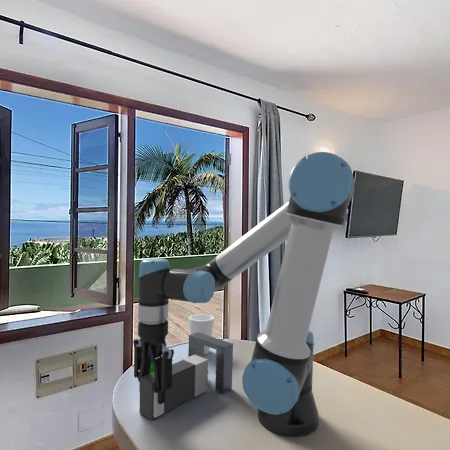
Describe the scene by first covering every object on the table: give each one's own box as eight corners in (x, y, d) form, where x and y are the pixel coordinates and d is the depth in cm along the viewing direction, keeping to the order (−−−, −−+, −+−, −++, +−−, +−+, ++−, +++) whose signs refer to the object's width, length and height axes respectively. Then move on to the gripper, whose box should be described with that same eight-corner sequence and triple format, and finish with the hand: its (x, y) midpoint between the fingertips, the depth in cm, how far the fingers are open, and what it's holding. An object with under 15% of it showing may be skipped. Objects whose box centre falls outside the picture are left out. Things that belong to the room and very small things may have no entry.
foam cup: (191, 346, 134) (192, 313, 134) (214, 348, 133) (215, 314, 133) (185, 355, 125) (186, 320, 124) (210, 357, 123) (211, 321, 123)
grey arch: (231, 388, 101) (233, 343, 101) (223, 394, 98) (224, 347, 98) (196, 373, 111) (197, 332, 110) (187, 377, 107) (188, 335, 107)
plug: (211, 388, 101) (211, 357, 100) (152, 420, 84) (152, 384, 84) (197, 382, 104) (198, 352, 104) (138, 412, 88) (139, 377, 87)
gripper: (188, 324, 84) (186, 418, 84) (143, 310, 96) (142, 393, 96) (164, 331, 78) (163, 432, 79) (120, 316, 90) (118, 404, 90)
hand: (151, 410), depth 87 cm, fingers closed on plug, 5 cm apart
